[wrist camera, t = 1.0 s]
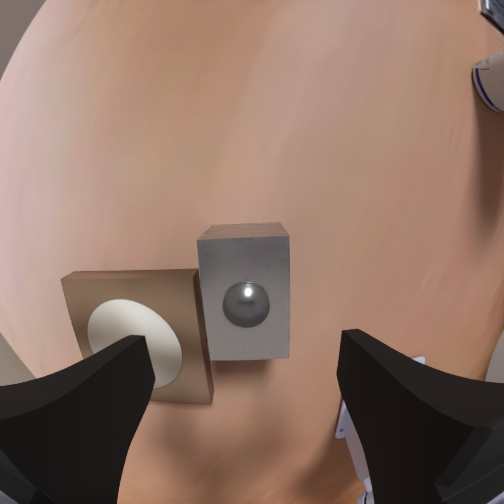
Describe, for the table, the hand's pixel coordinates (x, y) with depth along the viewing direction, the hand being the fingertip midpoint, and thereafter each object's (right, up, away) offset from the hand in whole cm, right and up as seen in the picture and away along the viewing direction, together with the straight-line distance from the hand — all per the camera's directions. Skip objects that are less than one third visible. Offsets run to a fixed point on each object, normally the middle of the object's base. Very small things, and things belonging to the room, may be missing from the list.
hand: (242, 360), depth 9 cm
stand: (-9, -3, +11) cm, 15 cm away
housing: (0, +2, +10) cm, 10 cm away
